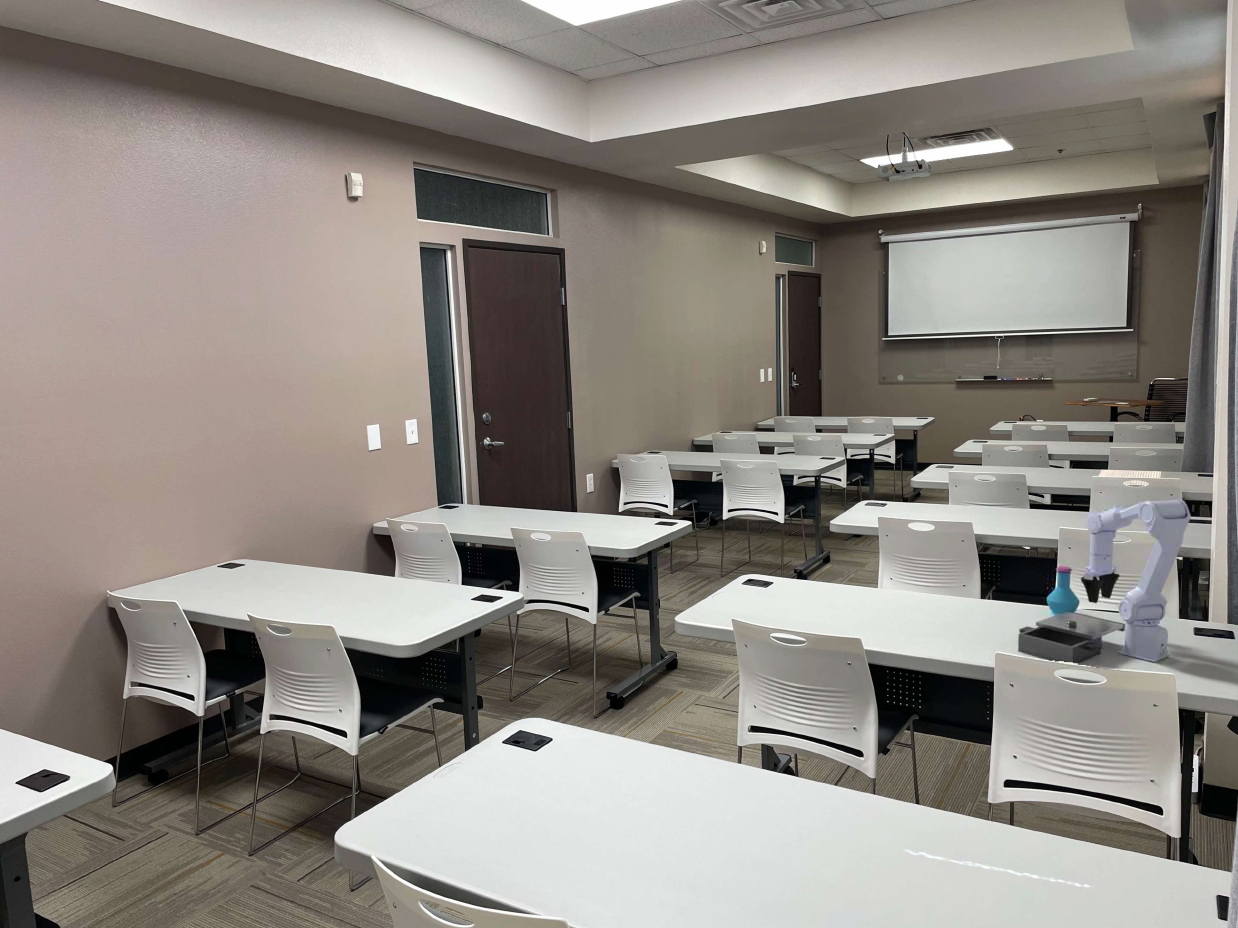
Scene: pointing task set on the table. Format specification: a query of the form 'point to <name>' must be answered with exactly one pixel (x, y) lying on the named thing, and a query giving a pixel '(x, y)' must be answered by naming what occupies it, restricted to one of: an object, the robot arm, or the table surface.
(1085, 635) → the cooker lid
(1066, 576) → the perfume bottle
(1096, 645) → the dark grey box
